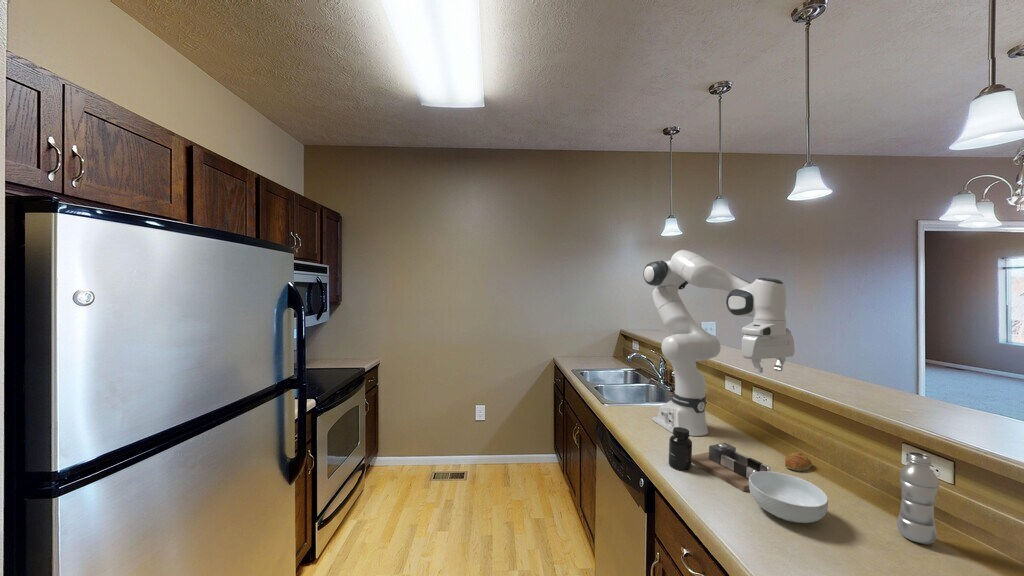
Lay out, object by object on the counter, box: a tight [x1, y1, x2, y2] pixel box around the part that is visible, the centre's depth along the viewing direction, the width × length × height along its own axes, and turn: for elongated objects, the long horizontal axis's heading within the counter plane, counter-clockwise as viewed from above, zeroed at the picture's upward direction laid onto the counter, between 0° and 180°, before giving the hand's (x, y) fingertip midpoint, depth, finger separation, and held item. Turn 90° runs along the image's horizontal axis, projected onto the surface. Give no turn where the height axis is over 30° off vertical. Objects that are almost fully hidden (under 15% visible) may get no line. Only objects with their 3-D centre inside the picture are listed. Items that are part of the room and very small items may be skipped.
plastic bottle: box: [896, 451, 940, 546], centre depth 91 cm, size 6×7×20 cm
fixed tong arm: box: [721, 455, 757, 479], centre depth 118 cm, size 12×1×3 cm, turn 22°
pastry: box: [784, 452, 813, 472], centre depth 127 cm, size 9×7×4 cm
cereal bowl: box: [749, 471, 829, 524], centre depth 100 cm, size 17×17×7 cm
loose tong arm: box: [734, 451, 772, 472], centre depth 120 cm, size 12×1×3 cm, turn 22°
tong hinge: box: [708, 442, 737, 465], centre depth 127 cm, size 4×7×5 cm, turn 112°
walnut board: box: [691, 451, 750, 492], centre depth 123 cm, size 20×15×2 cm
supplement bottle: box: [668, 427, 693, 471], centre depth 125 cm, size 7×7×12 cm
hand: (768, 371), depth 124 cm, fingers open, 8 cm apart
